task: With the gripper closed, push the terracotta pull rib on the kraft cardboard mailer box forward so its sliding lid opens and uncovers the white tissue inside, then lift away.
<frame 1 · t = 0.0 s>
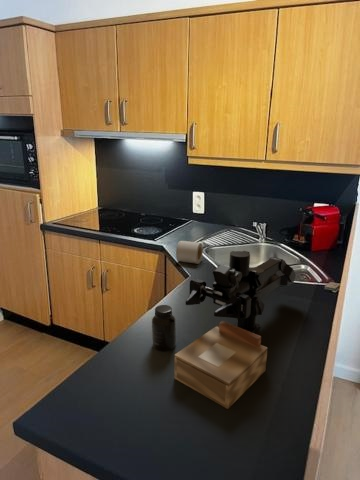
hand: (199, 308, 91), 17 cm above the worktop, tool horizontal, fingers open, 9 cm apart
toilet paper: (189, 262, 172), on the worktop
mailer box: (220, 374, 91), on the worktop
supplement bottle: (164, 345, 104), on the worktop
mailer lid: (222, 347, 89), point 8 cm above the worktop, slide at 0.0 cm
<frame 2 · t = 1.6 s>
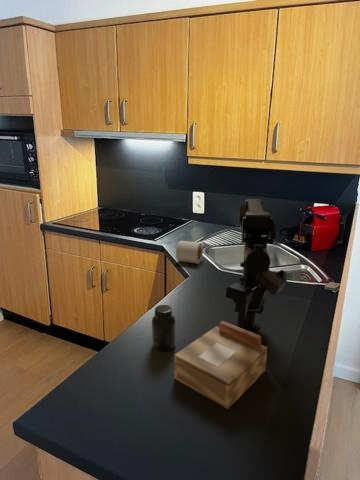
hand: (250, 312, 98), 12 cm above the worktop, tool pointing down, fingers open, 8 cm apart
nothing on the worktop moved.
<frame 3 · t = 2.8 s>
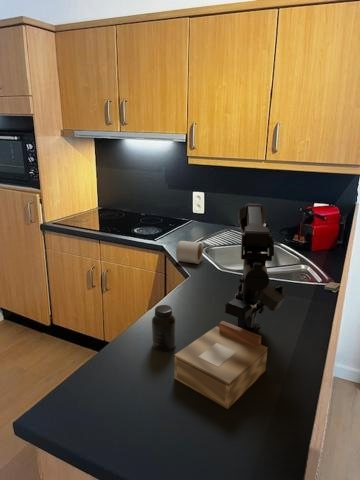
hand: (249, 326, 100), 8 cm above the worktop, tool pointing down, fingers closed
nothing on the worktop moved.
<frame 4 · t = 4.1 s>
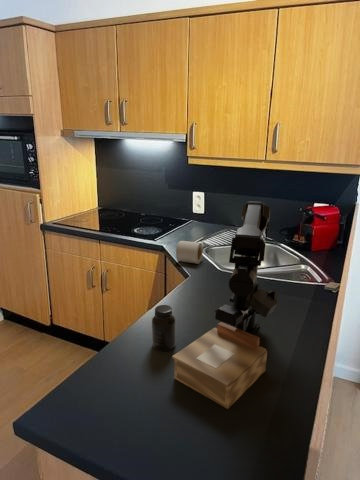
hand: (241, 333, 96), 8 cm above the worktop, tool pointing down, fingers closed
mailer lid: (220, 349, 89), point 8 cm above the worktop, slide at 0.8 cm, touching gripper
everything else where it was.
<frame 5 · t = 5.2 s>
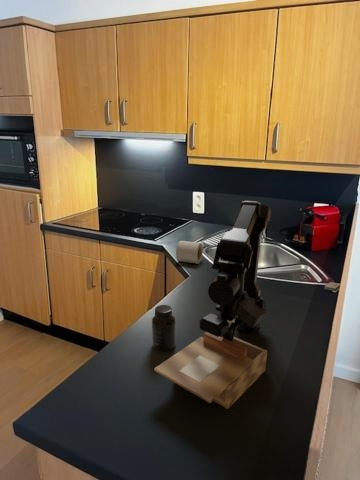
hand: (228, 343, 91), 8 cm above the worktop, tool pointing down, fingers closed
mailer lid: (205, 360, 84), point 8 cm above the worktop, slide at 7.2 cm, touching gripper
everything else where it was.
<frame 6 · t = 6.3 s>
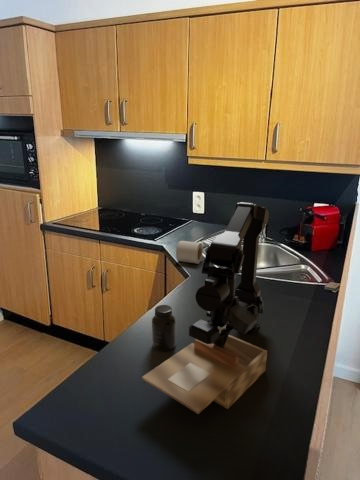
hand: (220, 350, 89), 8 cm above the worktop, tool pointing down, fingers closed
mailer lid: (194, 368, 81), point 8 cm above the worktop, slide at 11.1 cm, touching gripper
everything else where it was.
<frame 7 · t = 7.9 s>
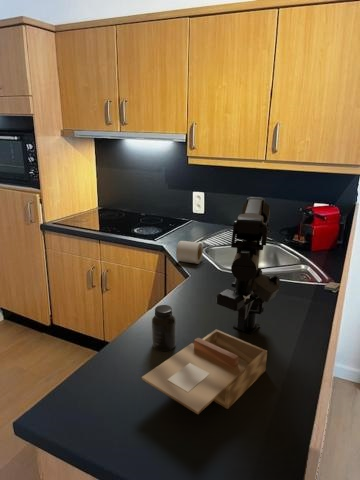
hand: (243, 318, 96), 12 cm above the worktop, tool pointing down, fingers closed
mailer lid: (194, 369, 81), point 8 cm above the worktop, slide at 11.2 cm
everything else where it was.
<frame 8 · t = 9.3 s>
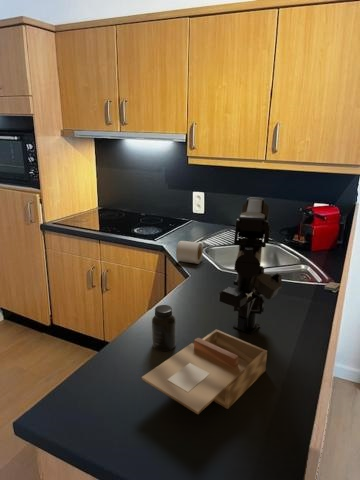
hand: (245, 316, 96), 12 cm above the worktop, tool pointing down, fingers closed
nothing on the worktop moved.
at the end: mailer lid slide at 11.2 cm; supplement bottle moved 0.2 cm from its start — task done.
